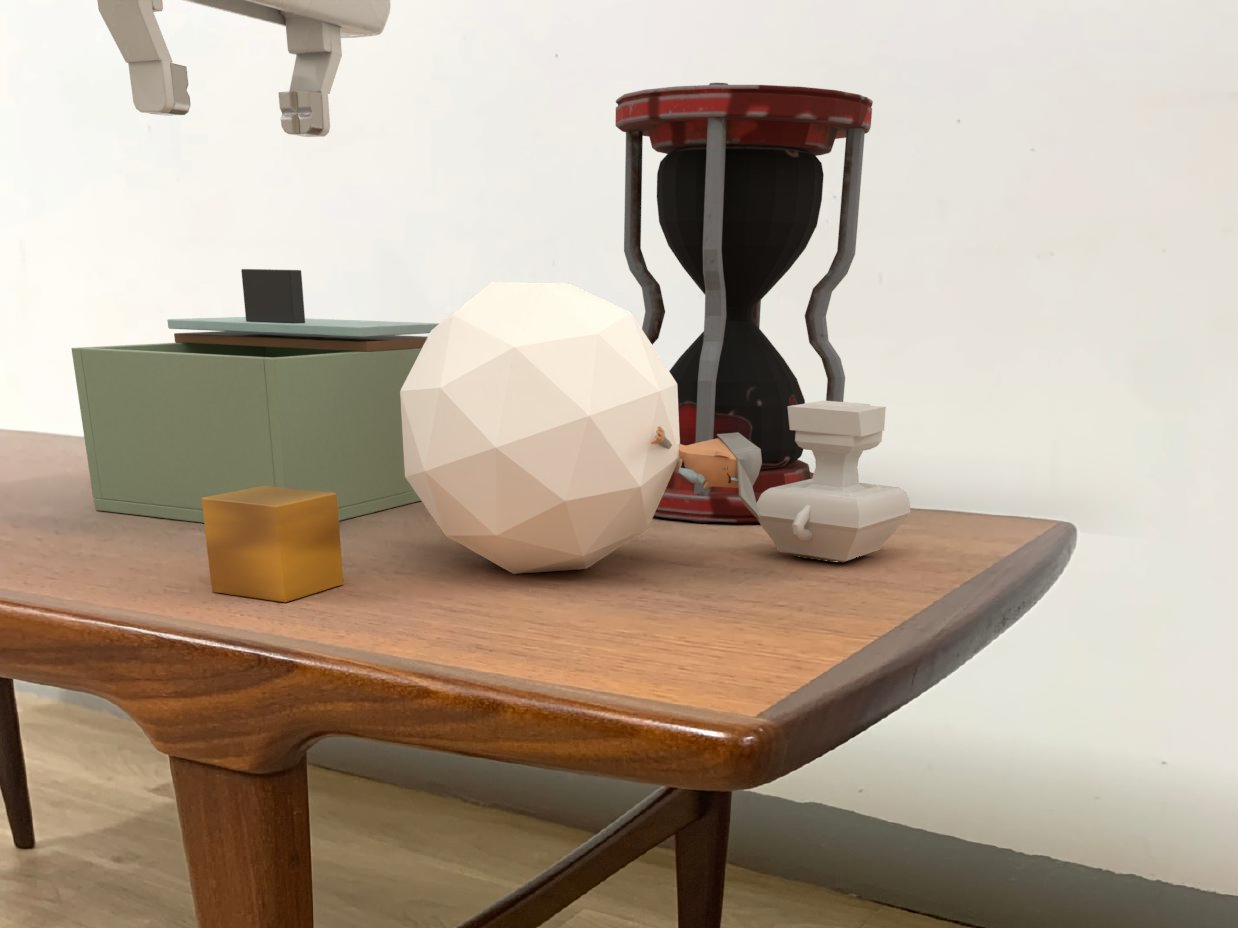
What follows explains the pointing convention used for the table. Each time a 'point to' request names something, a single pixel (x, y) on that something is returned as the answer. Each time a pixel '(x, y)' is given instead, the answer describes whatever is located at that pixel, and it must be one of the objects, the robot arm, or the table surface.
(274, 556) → the block
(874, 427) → the beige squat bottle
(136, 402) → the case
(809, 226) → the hourglass
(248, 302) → the blue-grey flat panel
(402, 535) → the table surface
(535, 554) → the person on sphere
